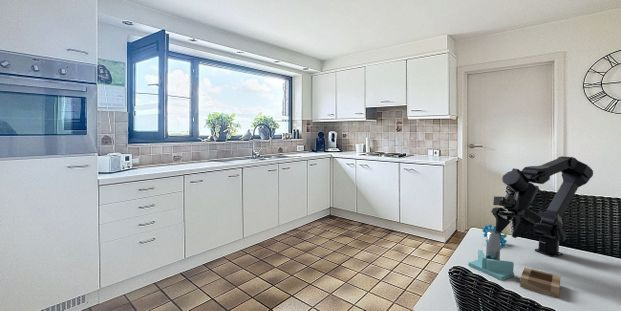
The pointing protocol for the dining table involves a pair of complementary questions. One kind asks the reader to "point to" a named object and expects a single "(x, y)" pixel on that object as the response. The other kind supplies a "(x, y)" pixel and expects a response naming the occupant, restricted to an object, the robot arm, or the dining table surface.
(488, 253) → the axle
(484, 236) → the gear
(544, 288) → the block
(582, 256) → the dining table surface
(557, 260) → the dining table surface
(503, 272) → the v block
